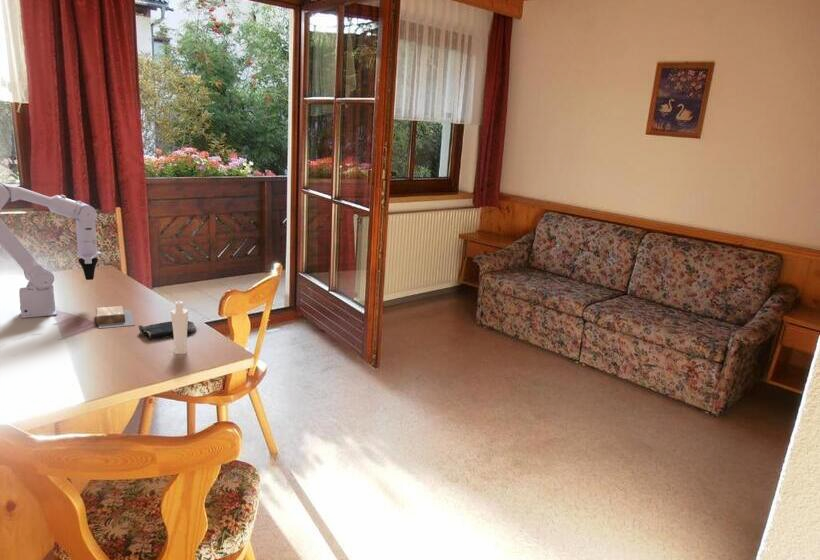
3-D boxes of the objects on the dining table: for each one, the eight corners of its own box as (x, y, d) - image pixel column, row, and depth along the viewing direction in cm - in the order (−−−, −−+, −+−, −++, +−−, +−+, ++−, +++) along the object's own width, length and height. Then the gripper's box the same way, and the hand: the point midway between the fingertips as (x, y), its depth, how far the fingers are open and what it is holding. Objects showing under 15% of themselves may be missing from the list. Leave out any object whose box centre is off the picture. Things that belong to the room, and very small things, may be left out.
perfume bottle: (179, 356, 162) (177, 305, 158) (169, 352, 164) (167, 302, 160) (192, 351, 166) (191, 302, 162) (183, 347, 168) (181, 298, 164)
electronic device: (151, 348, 170) (201, 332, 179) (146, 330, 168) (197, 315, 178) (141, 342, 177) (189, 326, 186) (136, 325, 175) (185, 310, 185)
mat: (99, 328, 177) (99, 328, 177) (97, 312, 190) (97, 311, 190) (134, 325, 181) (134, 324, 181) (131, 309, 195) (131, 309, 195)
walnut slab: (96, 316, 179) (124, 314, 182) (95, 307, 186) (123, 305, 190) (96, 324, 179) (125, 322, 183) (96, 315, 187) (123, 313, 191)
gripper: (101, 244, 186) (103, 284, 189) (99, 235, 198) (102, 273, 201) (76, 245, 182) (79, 285, 186) (76, 235, 194) (79, 274, 198)
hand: (89, 279), depth 193 cm, fingers closed
